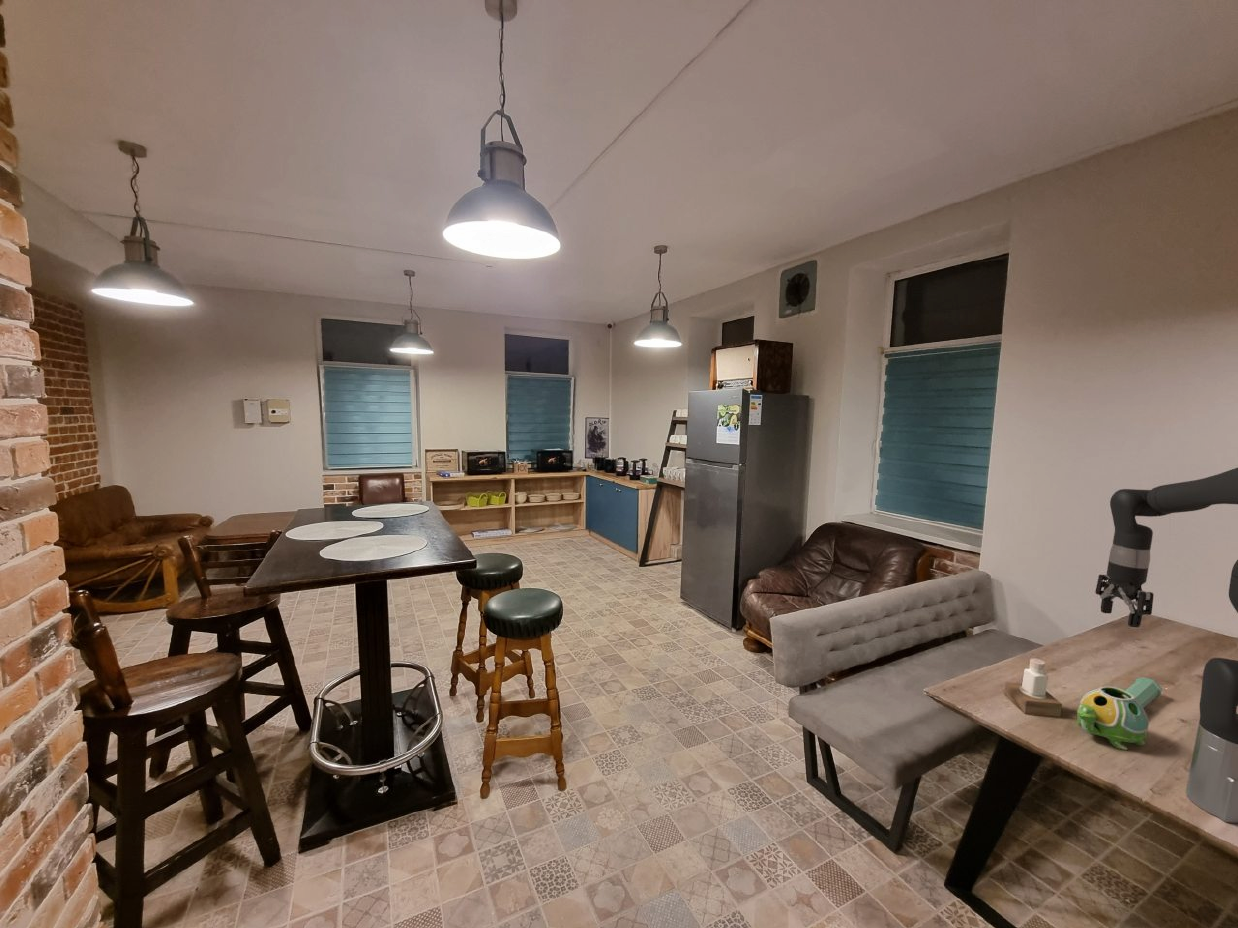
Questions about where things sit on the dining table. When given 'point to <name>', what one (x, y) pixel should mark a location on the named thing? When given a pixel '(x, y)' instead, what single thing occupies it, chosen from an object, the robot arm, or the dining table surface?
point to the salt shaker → (1035, 678)
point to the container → (1144, 690)
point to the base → (1032, 701)
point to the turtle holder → (1113, 716)
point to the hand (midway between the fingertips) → (1119, 619)
